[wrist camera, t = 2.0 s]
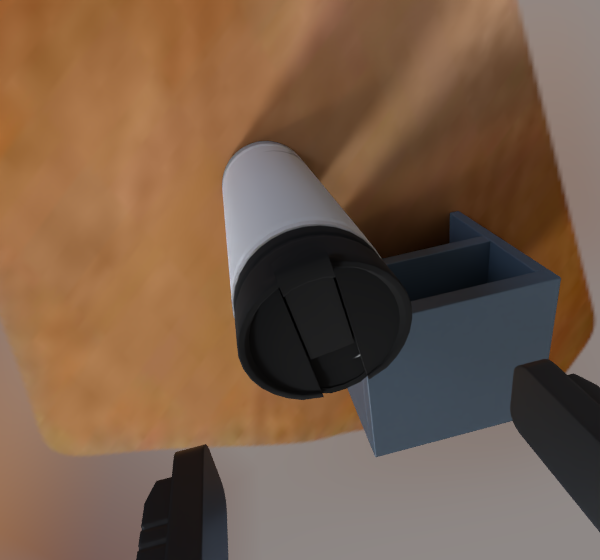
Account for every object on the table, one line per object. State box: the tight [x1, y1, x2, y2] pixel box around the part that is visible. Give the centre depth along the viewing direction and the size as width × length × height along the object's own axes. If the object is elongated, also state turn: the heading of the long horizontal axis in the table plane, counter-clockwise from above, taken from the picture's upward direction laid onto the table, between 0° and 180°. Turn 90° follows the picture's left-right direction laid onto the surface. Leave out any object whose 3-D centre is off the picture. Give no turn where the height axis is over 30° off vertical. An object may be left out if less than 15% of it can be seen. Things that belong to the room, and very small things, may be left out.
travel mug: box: [222, 141, 412, 400], centre depth 23 cm, size 6×7×20 cm
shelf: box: [348, 211, 561, 457], centre depth 33 cm, size 11×12×12 cm
